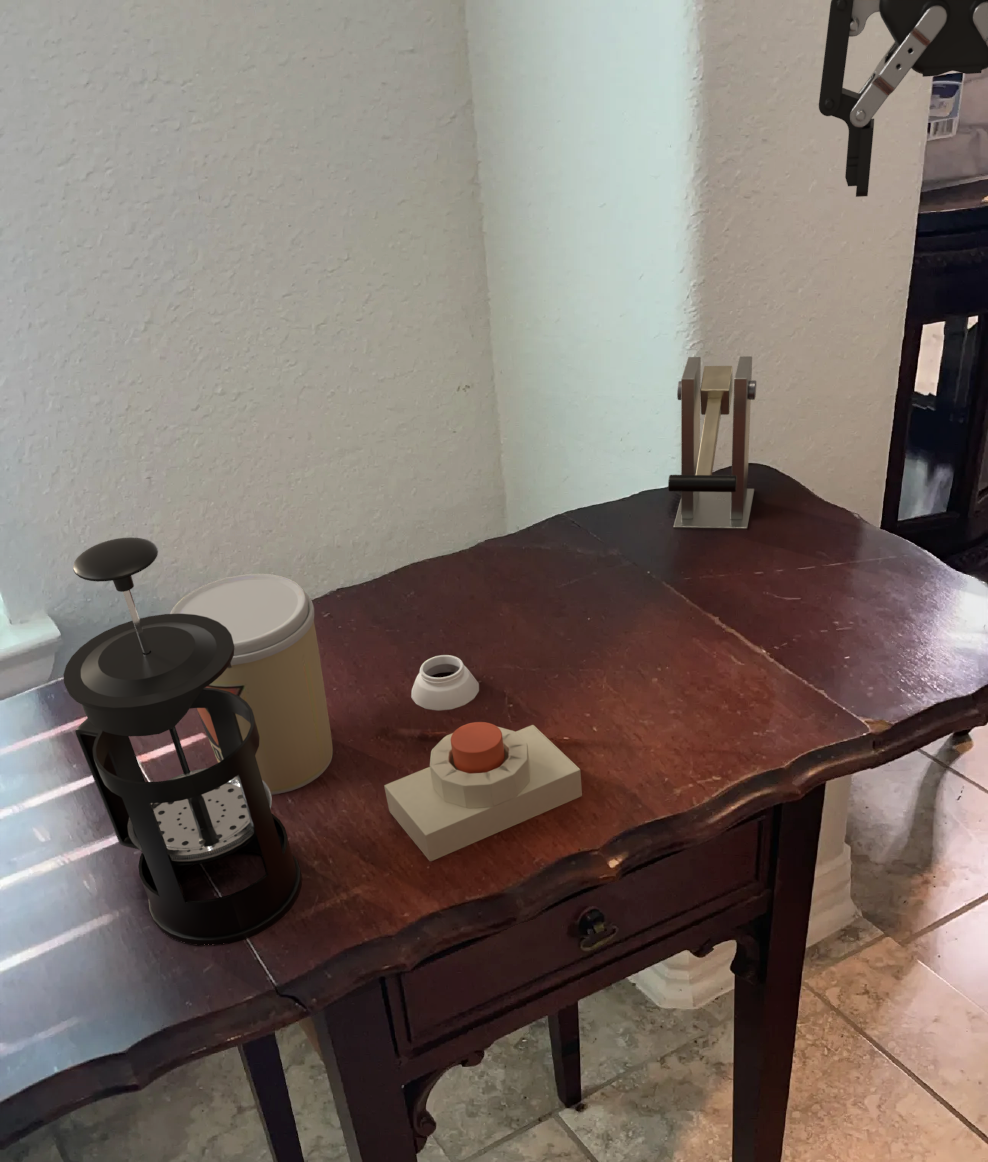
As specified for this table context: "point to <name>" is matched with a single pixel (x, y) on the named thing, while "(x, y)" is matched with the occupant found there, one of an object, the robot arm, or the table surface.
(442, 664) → the white jar
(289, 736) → the beige canister with lid
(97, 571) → the french press
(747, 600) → the table surface
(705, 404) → the lever
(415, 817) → the button base
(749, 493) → the switch bracket
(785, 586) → the table surface
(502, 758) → the button
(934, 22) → the robot arm
